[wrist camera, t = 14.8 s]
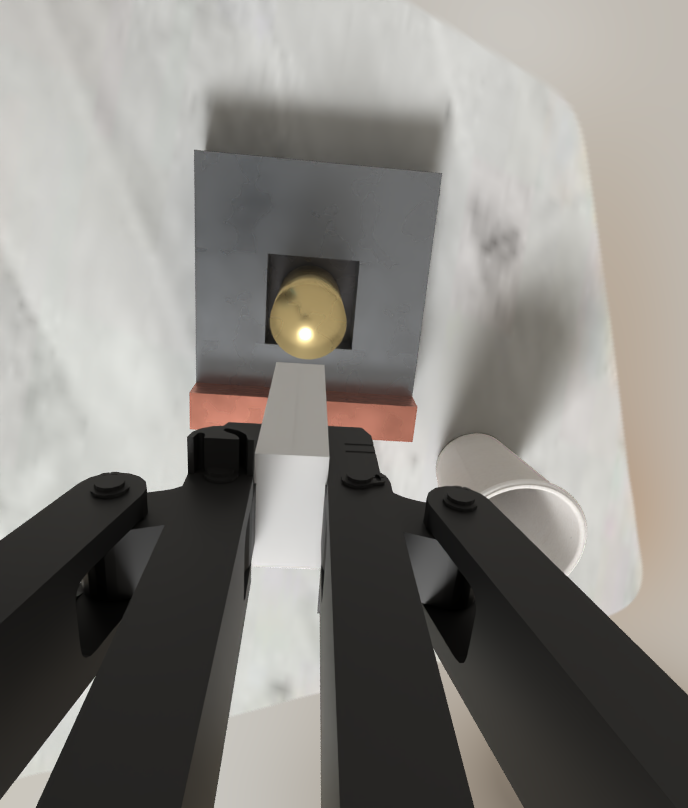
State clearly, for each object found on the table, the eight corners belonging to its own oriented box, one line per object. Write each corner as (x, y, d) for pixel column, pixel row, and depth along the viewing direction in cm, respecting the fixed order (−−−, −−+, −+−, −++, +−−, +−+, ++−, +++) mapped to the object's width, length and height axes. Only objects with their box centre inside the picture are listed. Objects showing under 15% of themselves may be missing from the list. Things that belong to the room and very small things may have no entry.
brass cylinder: (277, 323, 37) (267, 356, 29) (280, 262, 35) (272, 280, 28) (336, 329, 37) (342, 362, 30) (342, 268, 36) (350, 287, 28)
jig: (204, 154, 33) (186, 146, 29) (431, 175, 34) (450, 171, 30) (205, 401, 39) (190, 429, 34) (401, 413, 40) (412, 441, 35)
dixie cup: (457, 533, 44) (496, 624, 34) (396, 459, 41) (420, 536, 32) (547, 474, 42) (613, 553, 33) (490, 394, 40) (544, 454, 30)
